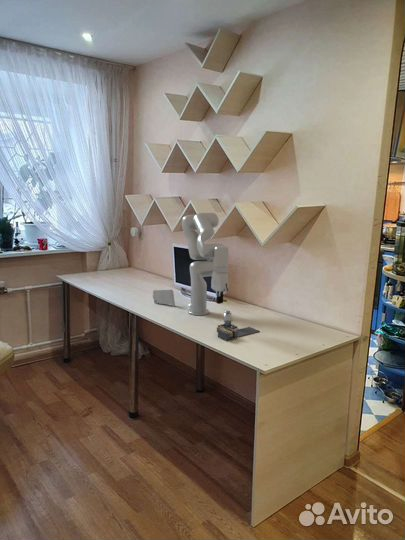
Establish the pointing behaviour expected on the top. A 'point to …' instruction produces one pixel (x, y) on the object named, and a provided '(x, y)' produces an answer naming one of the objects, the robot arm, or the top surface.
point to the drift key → (225, 330)
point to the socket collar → (230, 327)
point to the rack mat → (246, 331)
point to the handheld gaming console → (164, 296)
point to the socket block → (227, 334)
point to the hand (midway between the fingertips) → (219, 302)
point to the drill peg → (227, 319)
